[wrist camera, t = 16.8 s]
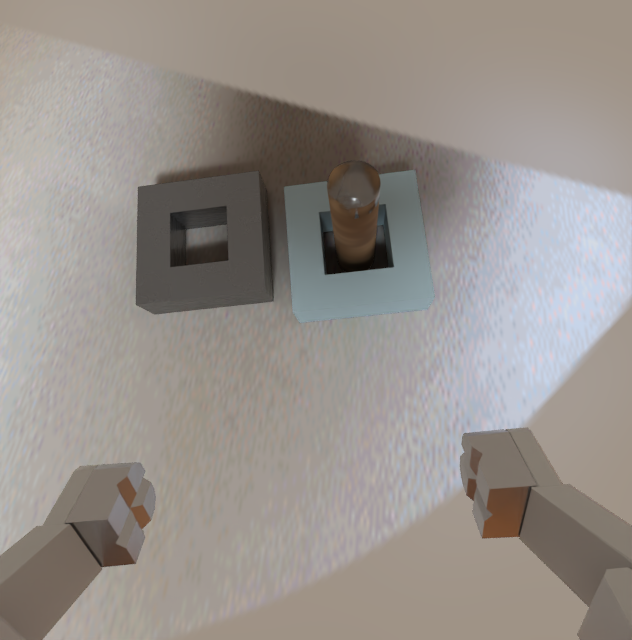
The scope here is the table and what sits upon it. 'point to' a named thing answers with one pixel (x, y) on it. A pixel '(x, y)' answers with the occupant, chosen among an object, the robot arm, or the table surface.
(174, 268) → the socket block
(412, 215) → the block
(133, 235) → the table surface
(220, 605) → the table surface
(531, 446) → the robot arm
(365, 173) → the peg
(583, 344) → the table surface
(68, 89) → the table surface
